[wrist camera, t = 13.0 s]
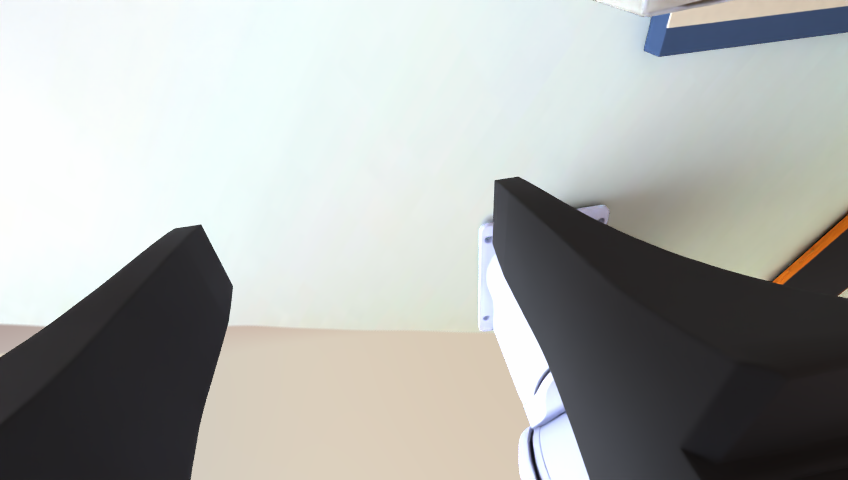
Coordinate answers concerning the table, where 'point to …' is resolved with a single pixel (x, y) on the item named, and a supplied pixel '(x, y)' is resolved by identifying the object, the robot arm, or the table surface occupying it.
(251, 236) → the table surface
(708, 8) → the towel
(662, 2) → the box
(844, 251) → the smartphone
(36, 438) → the robot arm
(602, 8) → the table surface
